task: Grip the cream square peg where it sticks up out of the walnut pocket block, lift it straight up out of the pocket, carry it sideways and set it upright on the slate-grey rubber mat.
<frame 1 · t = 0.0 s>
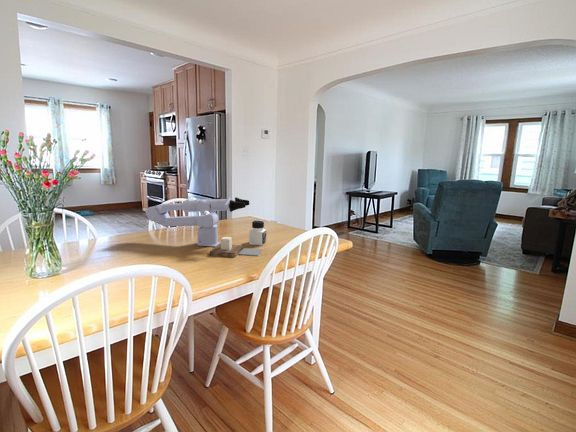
hand: (247, 203, 154), 22 cm above the table, tool horizontal, fingers open, 7 cm apart
mat: (250, 252, 149), on the table
pocket block: (226, 252, 148), on the table
white bottle: (257, 243, 164), on the table
peg: (226, 245, 147), in the pocket block
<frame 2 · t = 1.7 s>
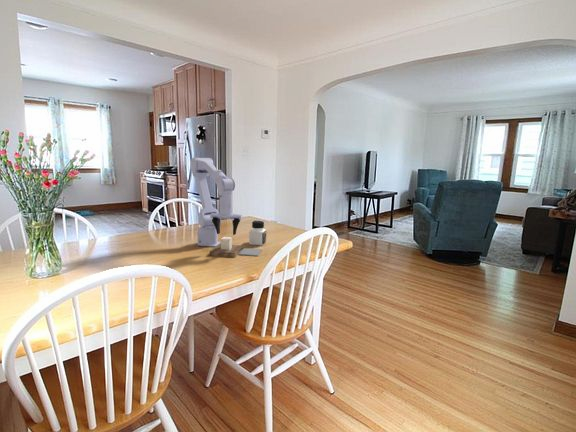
hand: (226, 233, 146), 9 cm above the table, tool pointing down, fingers open, 7 cm apart
nothing on the table moved.
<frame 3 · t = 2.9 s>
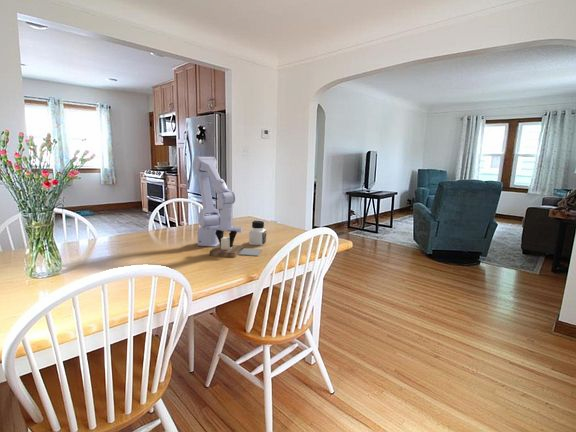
hand: (226, 246, 147), 3 cm above the table, tool pointing down, fingers closed on peg, 4 cm apart
peg: (226, 245, 147), in the pocket block, touching gripper
everything else where it was.
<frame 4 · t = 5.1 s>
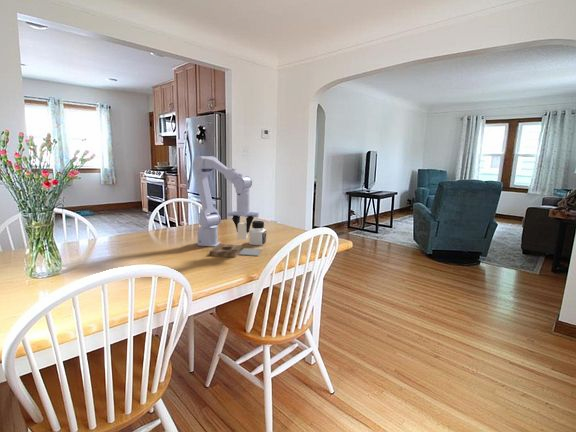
hand: (243, 231, 146), 10 cm above the table, tool pointing down, fingers closed on peg, 4 cm apart
peg: (243, 230, 146), point 11 cm above the table, touching gripper
everything else where it was.
when the fingers open (5 cm above the table, at t = 7.3 s): peg drops 1 cm, resting on mat.
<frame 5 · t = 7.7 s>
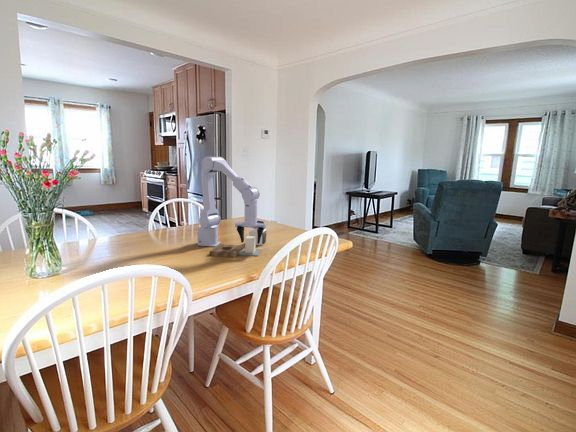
hand: (250, 242, 148), 5 cm above the table, tool pointing down, fingers open, 7 cm apart
peg: (250, 244, 148), on the mat
everything else where it was.
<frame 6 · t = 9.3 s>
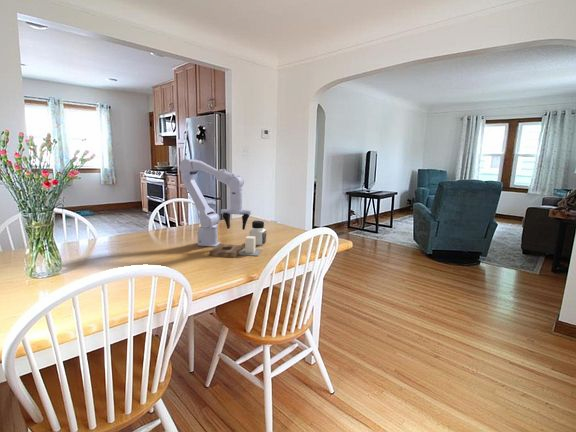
hand: (236, 228, 155), 9 cm above the table, tool pointing down, fingers open, 7 cm apart
nothing on the table moved.
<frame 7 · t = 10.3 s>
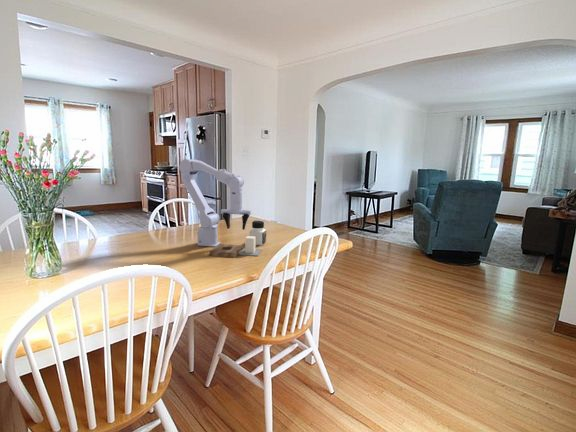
hand: (236, 228, 155), 9 cm above the table, tool pointing down, fingers open, 7 cm apart
nothing on the table moved.
at the end: peg 0.1 cm off-centre on the mat, point 4.0 cm above the mat's base; peg tilted 0°; the gripper is holding nothing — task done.
